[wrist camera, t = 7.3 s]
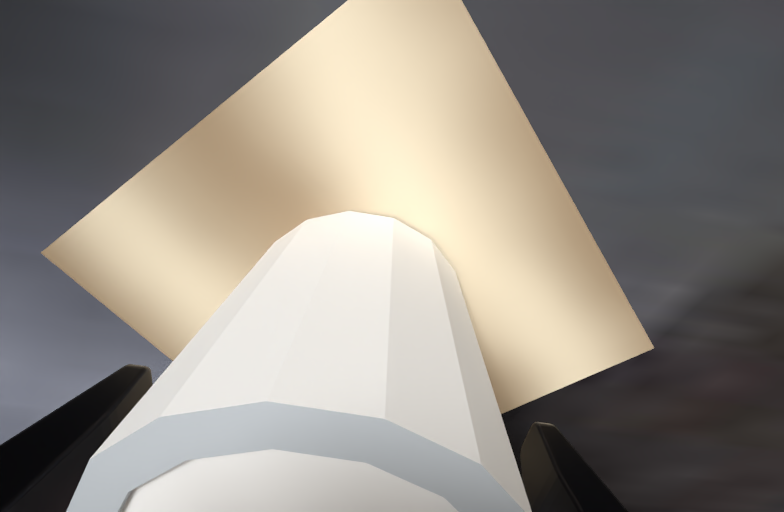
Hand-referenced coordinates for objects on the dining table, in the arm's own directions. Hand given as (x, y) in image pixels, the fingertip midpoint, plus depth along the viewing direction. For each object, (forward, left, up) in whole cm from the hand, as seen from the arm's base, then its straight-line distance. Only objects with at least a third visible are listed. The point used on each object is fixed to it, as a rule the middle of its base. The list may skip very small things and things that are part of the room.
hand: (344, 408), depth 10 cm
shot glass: (0, 0, -4) cm, 4 cm away
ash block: (0, 0, -8) cm, 8 cm away
